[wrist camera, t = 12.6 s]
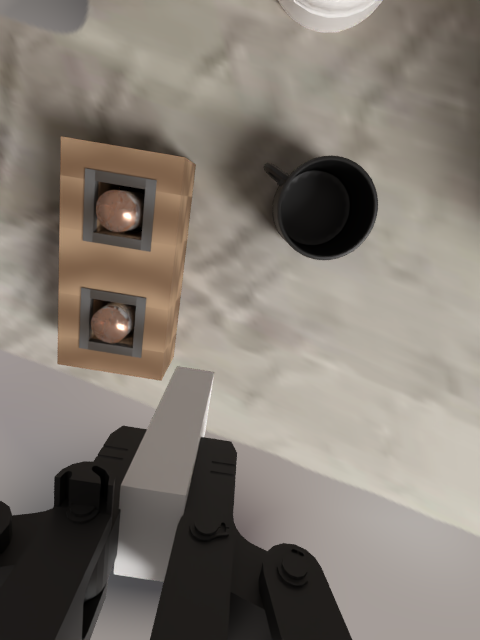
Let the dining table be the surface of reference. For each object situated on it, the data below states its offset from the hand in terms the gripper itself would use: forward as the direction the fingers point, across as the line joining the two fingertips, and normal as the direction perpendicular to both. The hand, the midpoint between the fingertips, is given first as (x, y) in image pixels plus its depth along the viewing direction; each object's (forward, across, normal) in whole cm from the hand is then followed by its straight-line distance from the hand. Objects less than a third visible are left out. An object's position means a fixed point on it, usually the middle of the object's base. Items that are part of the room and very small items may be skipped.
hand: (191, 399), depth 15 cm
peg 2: (+32, -12, -7) cm, 35 cm away
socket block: (+32, -12, -1) cm, 35 cm away
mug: (+33, +7, +9) cm, 35 cm away
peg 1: (+32, -12, +5) cm, 34 cm away
